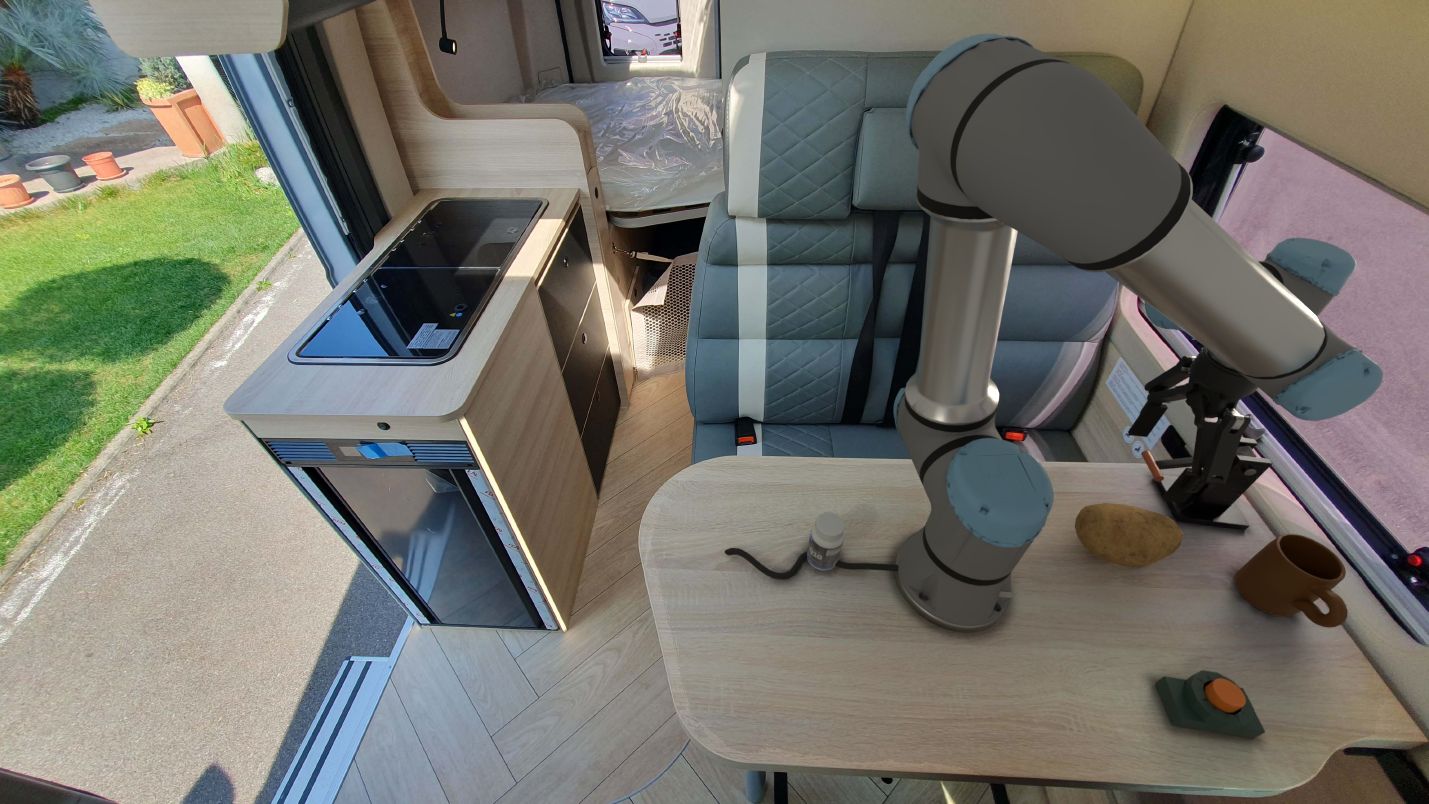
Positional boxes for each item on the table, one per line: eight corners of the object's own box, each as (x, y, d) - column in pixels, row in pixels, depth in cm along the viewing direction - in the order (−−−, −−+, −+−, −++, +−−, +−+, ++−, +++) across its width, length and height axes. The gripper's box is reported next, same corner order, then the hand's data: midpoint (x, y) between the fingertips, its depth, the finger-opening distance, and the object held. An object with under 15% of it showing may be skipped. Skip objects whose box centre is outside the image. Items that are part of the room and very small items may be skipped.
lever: (1154, 484, 88) (1156, 474, 87) (1140, 458, 92) (1141, 448, 91) (1259, 475, 84) (1263, 464, 83) (1239, 448, 88) (1243, 437, 87)
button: (1212, 710, 66) (1221, 704, 65) (1199, 682, 69) (1207, 676, 68) (1242, 715, 66) (1251, 709, 65) (1228, 686, 68) (1237, 680, 67)
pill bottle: (799, 549, 86) (806, 515, 80) (827, 539, 87) (835, 505, 82) (816, 576, 83) (824, 542, 77) (844, 564, 84) (854, 530, 78)
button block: (1173, 730, 68) (1192, 718, 65) (1152, 678, 73) (1169, 664, 70) (1256, 744, 67) (1279, 732, 64) (1229, 690, 72) (1250, 676, 69)
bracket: (1176, 521, 91) (1225, 467, 82) (1152, 478, 97) (1196, 424, 89) (1245, 530, 90) (1302, 476, 81) (1216, 486, 96) (1267, 431, 88)
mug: (1330, 654, 75) (1388, 619, 69) (1267, 646, 76) (1318, 610, 70) (1277, 573, 84) (1324, 535, 78) (1221, 566, 85) (1263, 528, 78)
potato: (1177, 583, 82) (1210, 552, 77) (1076, 575, 83) (1101, 543, 78) (1146, 527, 90) (1174, 495, 84) (1053, 519, 91) (1075, 487, 85)
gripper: (1329, 426, 66) (1219, 535, 80) (1222, 307, 84) (1147, 413, 98) (1257, 419, 67) (1161, 528, 81) (1166, 303, 85) (1101, 408, 99)
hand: (1153, 465), depth 90 cm, fingers open, 13 cm apart
